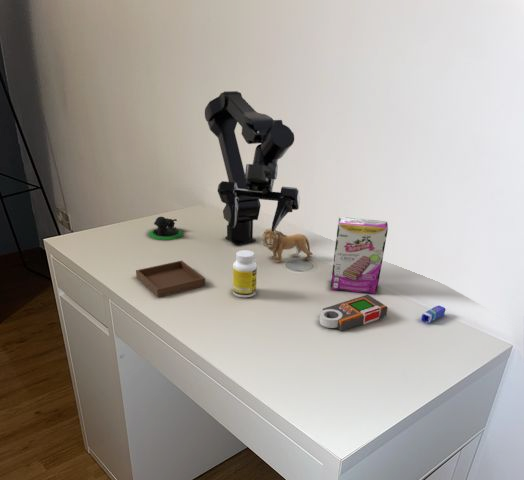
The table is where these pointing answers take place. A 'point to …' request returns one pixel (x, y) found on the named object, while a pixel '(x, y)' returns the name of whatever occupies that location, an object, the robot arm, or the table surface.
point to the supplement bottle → (244, 274)
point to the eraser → (433, 314)
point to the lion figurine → (285, 243)
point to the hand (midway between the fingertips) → (252, 228)
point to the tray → (170, 278)
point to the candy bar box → (358, 254)
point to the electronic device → (352, 313)
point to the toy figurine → (165, 229)
